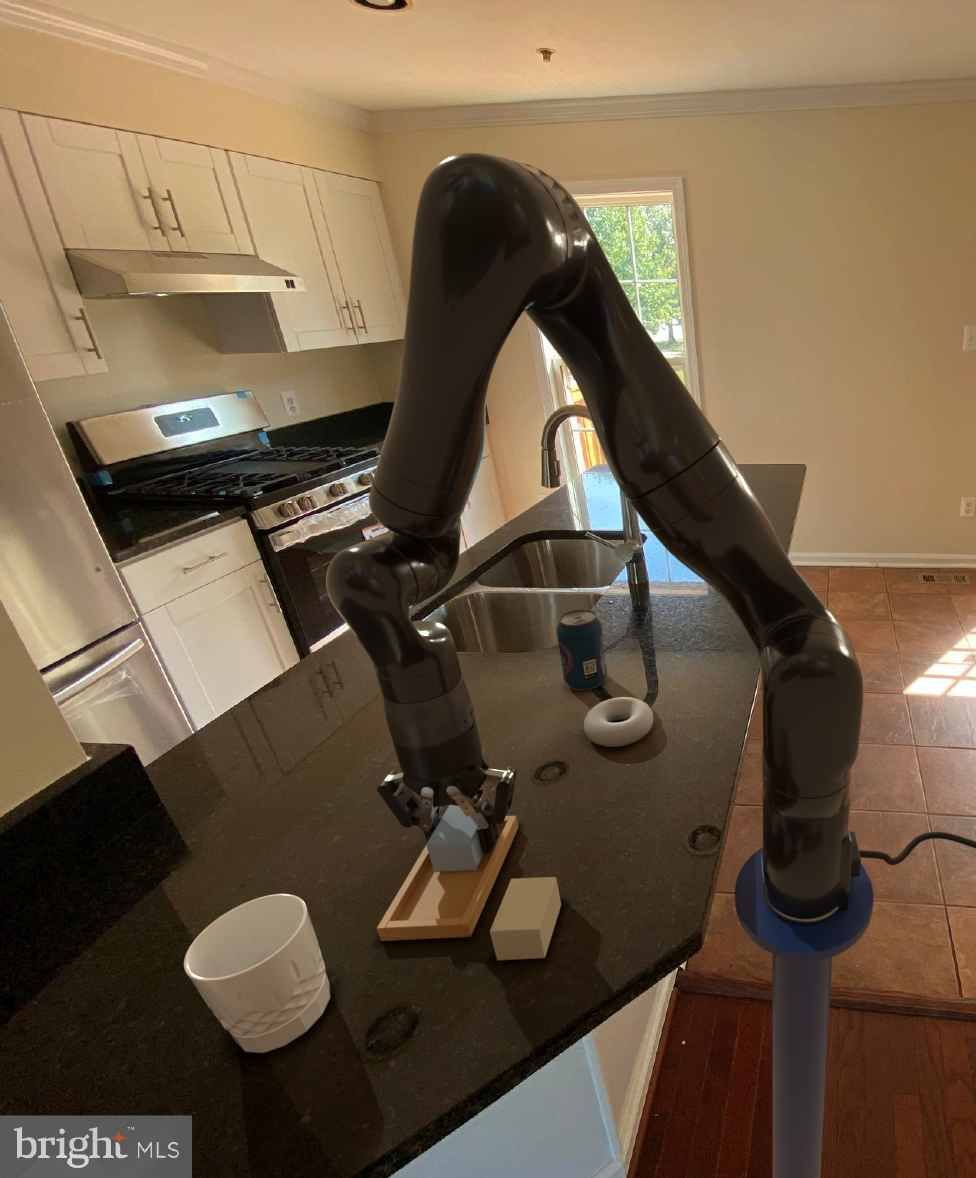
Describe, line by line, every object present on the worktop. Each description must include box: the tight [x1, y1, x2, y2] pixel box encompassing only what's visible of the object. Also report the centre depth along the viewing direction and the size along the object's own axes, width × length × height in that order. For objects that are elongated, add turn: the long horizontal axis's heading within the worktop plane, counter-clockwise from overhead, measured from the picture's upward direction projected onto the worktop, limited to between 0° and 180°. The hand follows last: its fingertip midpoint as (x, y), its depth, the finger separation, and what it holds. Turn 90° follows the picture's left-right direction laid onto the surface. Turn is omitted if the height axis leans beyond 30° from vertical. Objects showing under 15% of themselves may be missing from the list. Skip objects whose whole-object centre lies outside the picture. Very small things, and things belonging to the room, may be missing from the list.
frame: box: [376, 815, 519, 942], centre depth 68 cm, size 9×15×2 cm, turn 3°
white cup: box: [183, 893, 331, 1054], centre depth 54 cm, size 8×8×10 cm
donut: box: [583, 696, 654, 748], centre depth 93 cm, size 10×4×10 cm
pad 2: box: [489, 876, 562, 961], centre depth 62 cm, size 4×6×4 cm
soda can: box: [556, 609, 608, 691], centre depth 103 cm, size 7×7×12 cm
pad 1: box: [425, 805, 485, 872], centre depth 70 cm, size 4×6×4 cm
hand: (466, 847), depth 71 cm, fingers closed on pad 1, 4 cm apart
